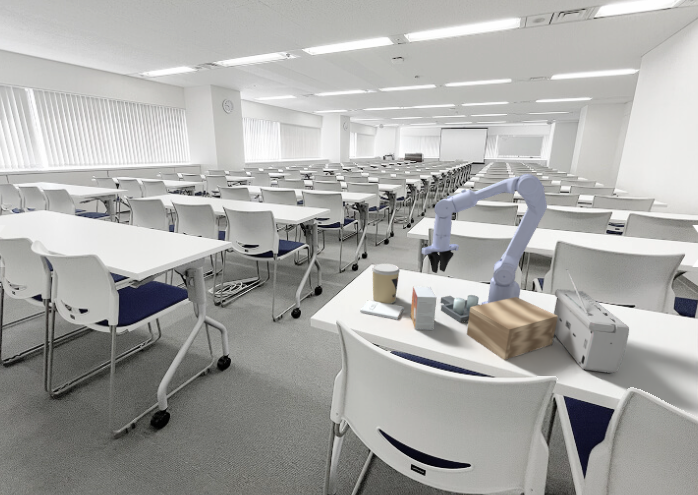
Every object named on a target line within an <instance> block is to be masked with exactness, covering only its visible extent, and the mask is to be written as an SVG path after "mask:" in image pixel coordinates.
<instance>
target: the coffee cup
mask: <svg viewBox="0 0 698 495" xmlns="http://www.w3.org/2000/svg"><path fill="white" fill-rule="evenodd" d="M371 272H372V301H375V302H381V303H386V304H393V303H395V302H396V297H397V296H396V295H397V290H398V283H399V276H400V275H399V273H400V267H398V266H397V265H396V264H392V263H387V262H386V263H377V264H374V265H373V266H372V270H371Z"/></svg>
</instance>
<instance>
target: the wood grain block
mask: <svg viewBox="0 0 698 495" xmlns="http://www.w3.org/2000/svg"><path fill="white" fill-rule="evenodd" d="M557 318H558V316H557V315H555V314H554V312H553V313H552V312H550V311H548V310H546V309H544V308H542V307H539V306H537V305H534V304H533V303H530V302H529V301H527V300H524V299H522V298H520V297H519V298H517V297H513V298H509V299H504V300H500V301H495V302H491V303H487V304H482V303H481V304H479V305H478V306H473V307H470V313H469V321H467V322H468V323H467V329H466V330H467V331H466V335H467V336H468V337H470V338H471V339H473V340H474V341H475V342H477V343H479V344H480V345H481V346H483V347H485V348H486V349H488V350H489V351H491V352H492V353H494V354H495V355H496V356H498V358H500V359H502V360H504V361H505V360H508V359H511V358H514V357H517V356H520V355H523V354H528V353H530V352H533V351H536V350H539V349H542V348H545V347H549V346H552V345H553V341H554V338H555V337H554V336H555V334H554V332H555V327H556V323H557Z"/></svg>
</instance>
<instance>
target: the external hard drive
mask: <svg viewBox="0 0 698 495" xmlns="http://www.w3.org/2000/svg"><path fill="white" fill-rule="evenodd" d="M404 308H405V307H404V306H401V305H397V304H393V303H391V304H386V303H381V302H375V301H374V300H370V299H369V300H367V301H366V302H365V303H364V304H363V306H362V307H361V308H360V310H359V313H362V314H366V315H372V316H378V317H381V318H387V319H390V320H396V321H398V320H399V318H400V317H401V315H402V312H403V311H404Z"/></svg>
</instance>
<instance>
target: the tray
mask: <svg viewBox="0 0 698 495" xmlns="http://www.w3.org/2000/svg"><path fill="white" fill-rule="evenodd" d="M479 298H480V297H479V296H478V295H477V296H476V295H473V294H469V295H467V299H464V298H461V297H453V296H451V295H447V296H442V297H440V303H441V304H442V305H441V304H440V311H441V312H442V313H444V314H445V315H447V316H448V317H450V318H452V320H455V321H456V322H458V323H459V324H461V323H467V322H468V321H469V313H470V307H473V306H478V305H480V304H479Z"/></svg>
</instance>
